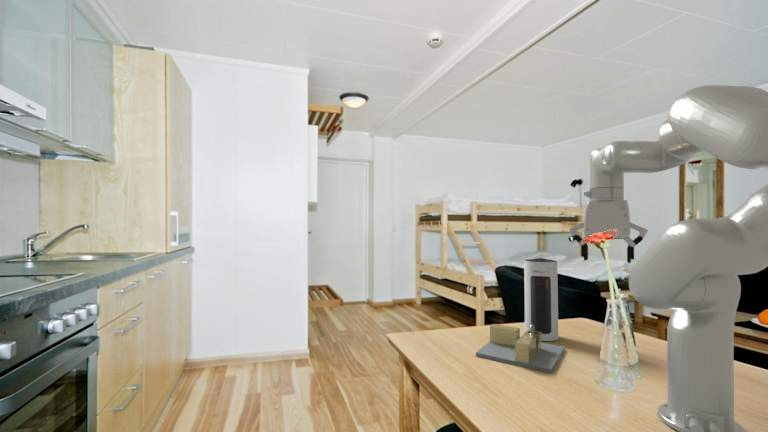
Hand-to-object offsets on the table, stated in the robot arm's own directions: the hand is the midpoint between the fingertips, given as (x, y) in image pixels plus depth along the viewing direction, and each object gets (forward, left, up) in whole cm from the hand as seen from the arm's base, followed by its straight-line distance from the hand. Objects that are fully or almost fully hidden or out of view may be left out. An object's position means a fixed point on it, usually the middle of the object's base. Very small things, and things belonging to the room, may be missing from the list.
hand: (606, 261), depth 95 cm
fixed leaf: (+2, +24, -27) cm, 36 cm away
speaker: (+19, +20, -28) cm, 40 cm away
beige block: (-3, +19, -27) cm, 33 cm away
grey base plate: (0, +22, -28) cm, 36 cm away
